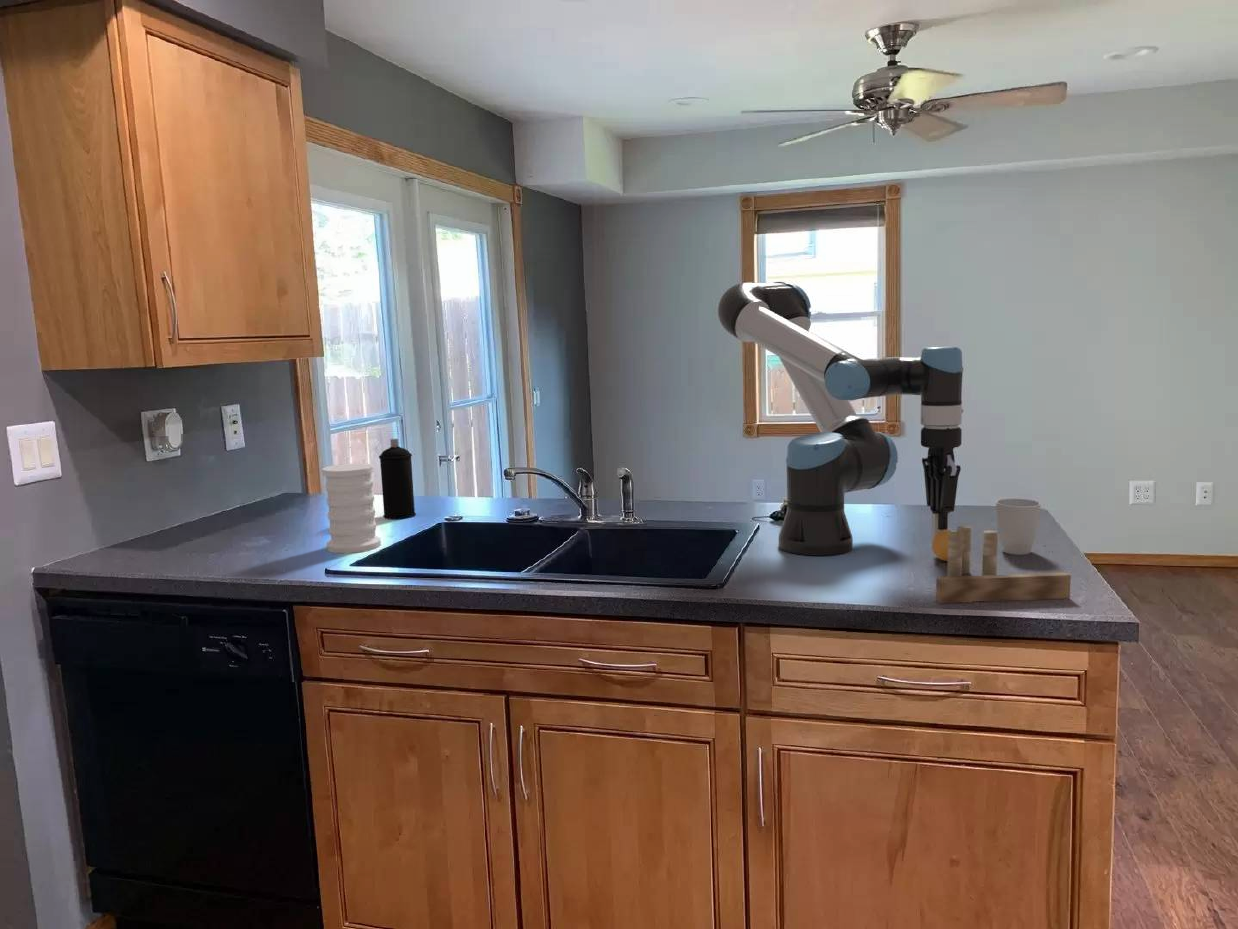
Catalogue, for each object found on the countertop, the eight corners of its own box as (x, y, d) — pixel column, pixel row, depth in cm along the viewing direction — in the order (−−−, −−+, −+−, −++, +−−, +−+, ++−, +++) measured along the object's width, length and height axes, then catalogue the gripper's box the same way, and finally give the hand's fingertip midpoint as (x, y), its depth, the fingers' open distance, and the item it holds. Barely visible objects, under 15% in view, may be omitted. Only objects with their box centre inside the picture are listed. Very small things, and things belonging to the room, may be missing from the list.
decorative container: (369, 538, 211) (364, 461, 209) (388, 547, 202) (383, 467, 199) (319, 546, 205) (313, 467, 202) (337, 556, 195) (330, 473, 193)
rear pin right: (950, 581, 164) (951, 535, 163) (945, 577, 167) (946, 532, 165) (963, 580, 164) (964, 534, 163) (958, 577, 167) (959, 531, 165)
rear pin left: (985, 580, 164) (987, 533, 163) (979, 576, 167) (981, 530, 165) (998, 579, 164) (1000, 533, 163) (992, 575, 167) (994, 530, 165)
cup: (1044, 550, 183) (1046, 501, 182) (1030, 558, 177) (1032, 508, 176) (1003, 544, 189) (1005, 497, 187) (988, 552, 183) (989, 503, 181)
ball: (924, 552, 181) (937, 567, 175) (929, 525, 178) (943, 539, 173) (952, 552, 181) (966, 567, 176) (959, 525, 179) (973, 539, 174)
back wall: (939, 603, 152) (940, 580, 151) (935, 600, 154) (936, 577, 153) (1069, 598, 153) (1070, 575, 152) (1064, 595, 154) (1065, 572, 154)
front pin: (958, 574, 168) (960, 529, 167) (953, 571, 171) (955, 526, 169) (971, 574, 168) (973, 529, 167) (966, 570, 171) (967, 526, 169)
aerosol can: (411, 519, 231) (406, 440, 227) (379, 520, 231) (373, 441, 228) (419, 512, 239) (414, 436, 236) (387, 513, 239) (382, 437, 236)
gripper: (974, 428, 172) (972, 551, 175) (945, 422, 185) (944, 536, 188) (935, 430, 171) (934, 553, 175) (909, 424, 184) (908, 538, 188)
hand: (939, 544), depth 181 cm, fingers closed
